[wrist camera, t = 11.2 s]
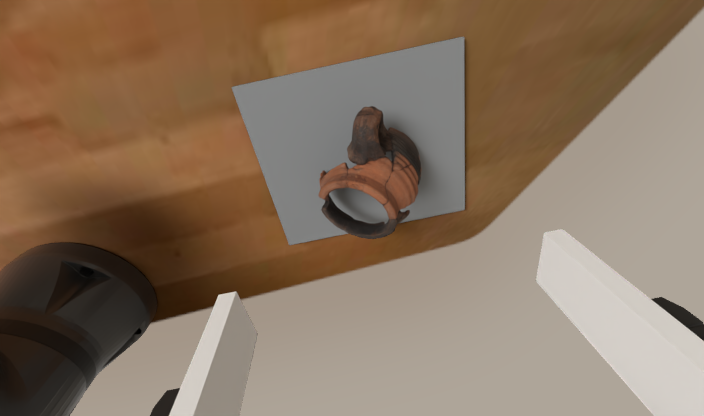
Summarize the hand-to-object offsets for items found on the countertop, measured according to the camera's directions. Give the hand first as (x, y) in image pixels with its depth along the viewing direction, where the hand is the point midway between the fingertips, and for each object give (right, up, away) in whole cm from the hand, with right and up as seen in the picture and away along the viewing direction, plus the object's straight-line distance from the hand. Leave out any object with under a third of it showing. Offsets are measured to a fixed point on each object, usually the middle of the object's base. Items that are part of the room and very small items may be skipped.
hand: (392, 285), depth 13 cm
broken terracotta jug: (0, +8, +17) cm, 19 cm away
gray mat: (-1, +9, +17) cm, 19 cm away
